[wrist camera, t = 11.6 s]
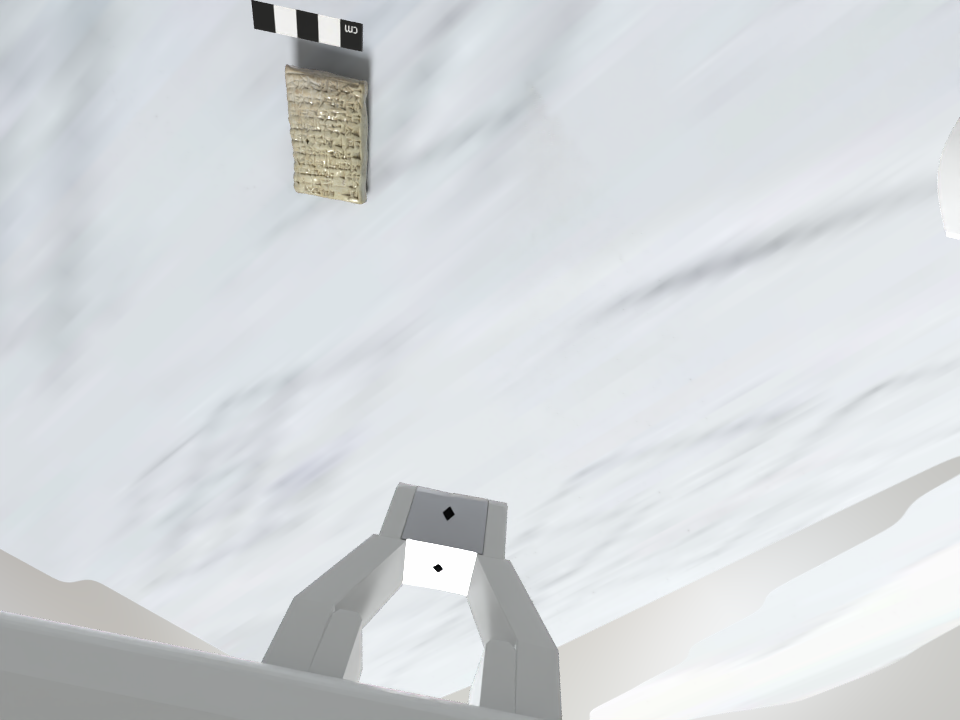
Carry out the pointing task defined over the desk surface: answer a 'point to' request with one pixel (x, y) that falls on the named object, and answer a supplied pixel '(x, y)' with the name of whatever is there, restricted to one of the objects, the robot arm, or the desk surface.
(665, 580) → the desk surface
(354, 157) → the cuneiform tablet
